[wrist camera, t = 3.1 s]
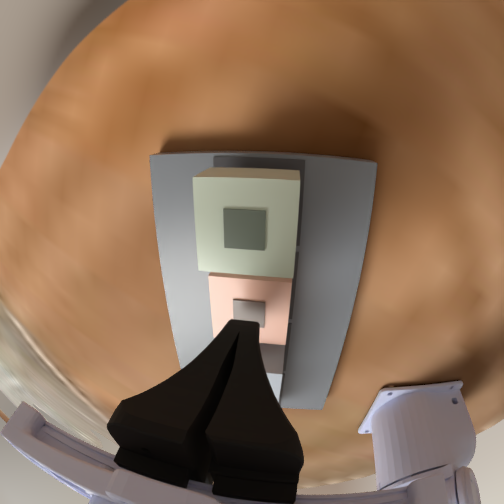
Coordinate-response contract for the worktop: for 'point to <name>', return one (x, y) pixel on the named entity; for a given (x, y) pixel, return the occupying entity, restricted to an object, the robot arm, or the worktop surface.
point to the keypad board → (305, 268)
